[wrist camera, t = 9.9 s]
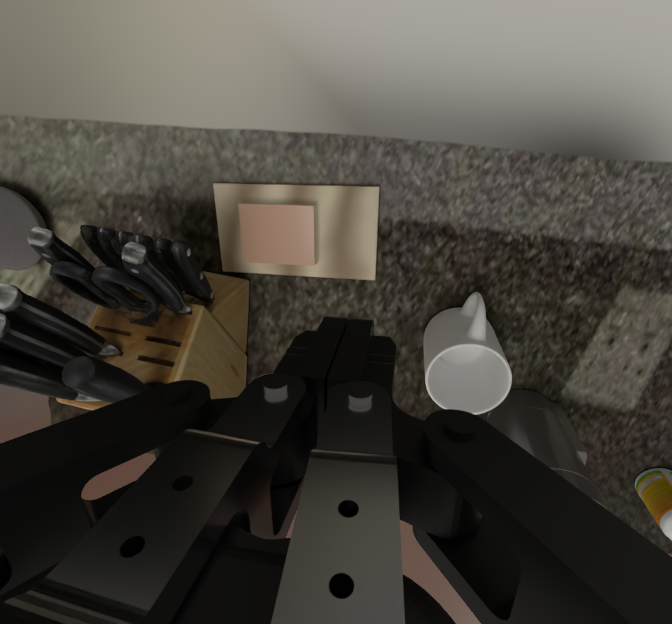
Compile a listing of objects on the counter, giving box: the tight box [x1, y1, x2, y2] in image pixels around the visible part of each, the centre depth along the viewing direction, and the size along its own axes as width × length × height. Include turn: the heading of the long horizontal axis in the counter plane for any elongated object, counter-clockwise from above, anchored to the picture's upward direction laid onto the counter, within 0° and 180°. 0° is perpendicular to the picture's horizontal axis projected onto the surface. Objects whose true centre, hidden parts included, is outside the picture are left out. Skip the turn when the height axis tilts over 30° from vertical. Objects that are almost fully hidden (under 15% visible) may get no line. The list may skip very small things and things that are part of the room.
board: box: [213, 183, 380, 280], centre depth 49 cm, size 20×11×1 cm, turn 90°
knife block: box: [0, 225, 249, 410], centre depth 43 cm, size 11×35×31 cm, turn 173°
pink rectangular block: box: [238, 202, 318, 266], centre depth 48 cm, size 2×7×9 cm
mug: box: [423, 292, 512, 415], centre depth 45 cm, size 9×12×11 cm
